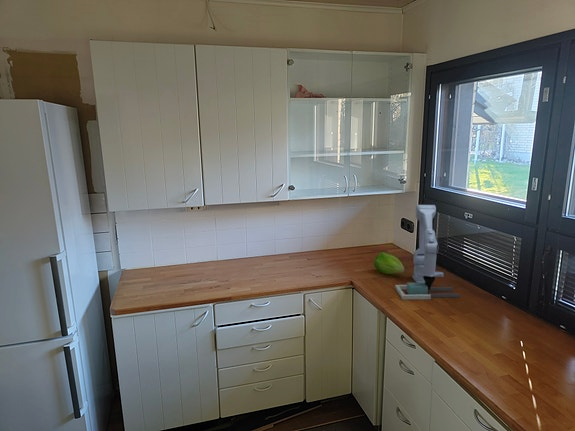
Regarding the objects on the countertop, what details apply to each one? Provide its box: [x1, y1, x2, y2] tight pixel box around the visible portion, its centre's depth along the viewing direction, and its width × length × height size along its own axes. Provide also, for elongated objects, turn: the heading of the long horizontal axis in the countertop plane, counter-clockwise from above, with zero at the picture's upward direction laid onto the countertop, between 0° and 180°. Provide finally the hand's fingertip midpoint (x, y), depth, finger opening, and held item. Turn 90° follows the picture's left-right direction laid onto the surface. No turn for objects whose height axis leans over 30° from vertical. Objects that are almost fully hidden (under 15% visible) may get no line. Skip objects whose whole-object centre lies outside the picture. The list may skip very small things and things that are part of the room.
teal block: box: [406, 282, 429, 295], centre depth 201 cm, size 6×9×5 cm, turn 89°
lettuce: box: [373, 252, 406, 275], centre depth 228 cm, size 14×20×12 cm
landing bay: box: [394, 284, 432, 300], centre depth 202 cm, size 14×14×2 cm
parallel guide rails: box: [428, 286, 460, 298], centre depth 201 cm, size 9×15×2 cm, turn 89°
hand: (428, 289), depth 201 cm, fingers closed
